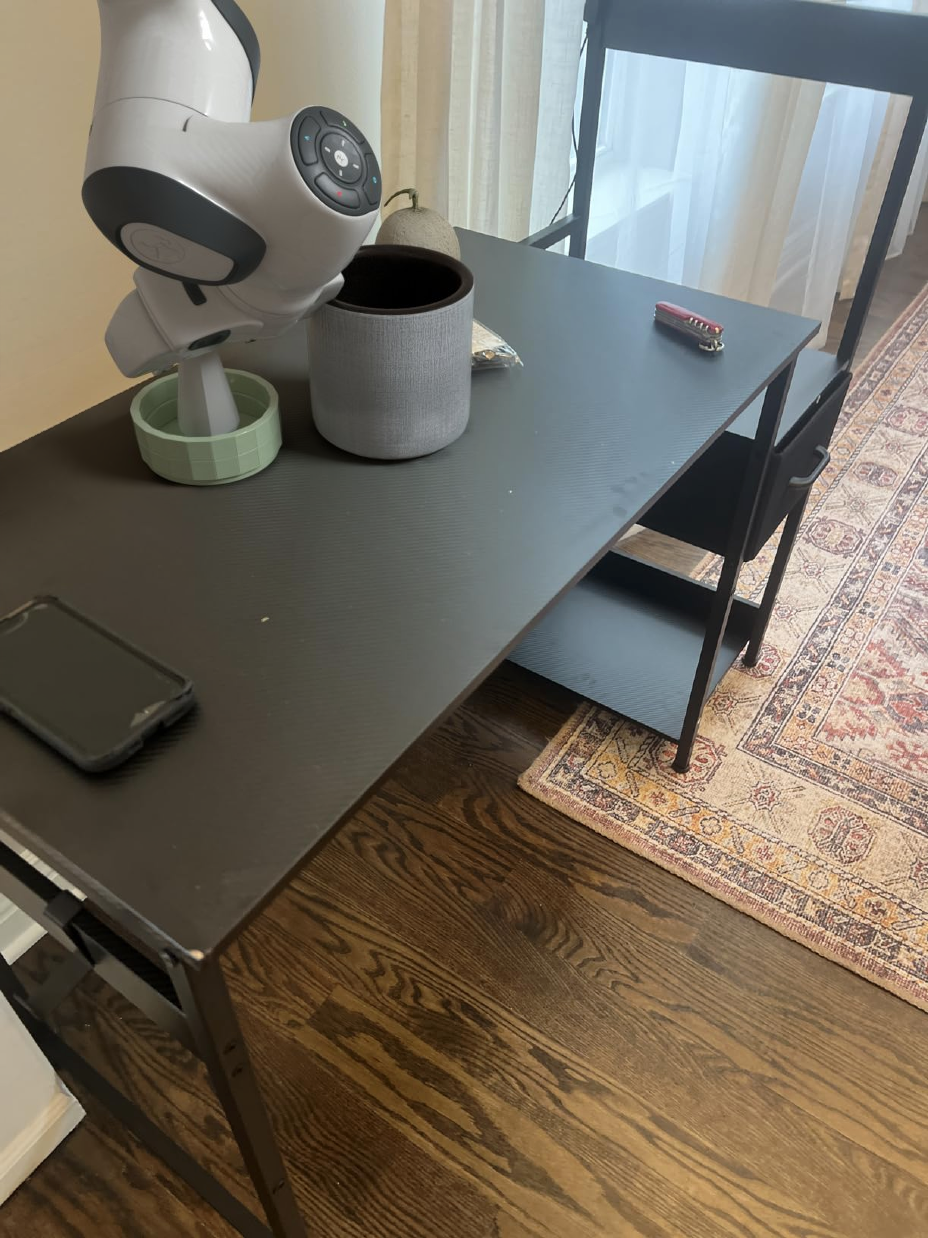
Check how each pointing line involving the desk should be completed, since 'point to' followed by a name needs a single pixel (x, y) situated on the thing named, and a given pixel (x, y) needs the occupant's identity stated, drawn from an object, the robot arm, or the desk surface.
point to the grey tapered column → (205, 398)
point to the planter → (394, 353)
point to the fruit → (418, 228)
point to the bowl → (213, 454)
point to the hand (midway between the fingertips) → (203, 349)
